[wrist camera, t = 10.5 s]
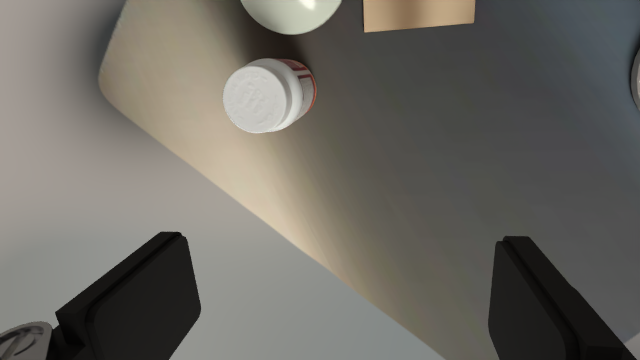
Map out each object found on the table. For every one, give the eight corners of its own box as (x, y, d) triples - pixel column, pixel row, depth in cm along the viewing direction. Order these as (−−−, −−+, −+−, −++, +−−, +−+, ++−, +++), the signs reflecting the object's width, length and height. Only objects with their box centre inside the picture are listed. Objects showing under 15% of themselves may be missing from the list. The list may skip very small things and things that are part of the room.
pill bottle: (250, 81, 38) (199, 88, 27) (295, 46, 36) (260, 39, 25) (283, 129, 39) (246, 154, 28) (329, 98, 37) (308, 112, 26)
